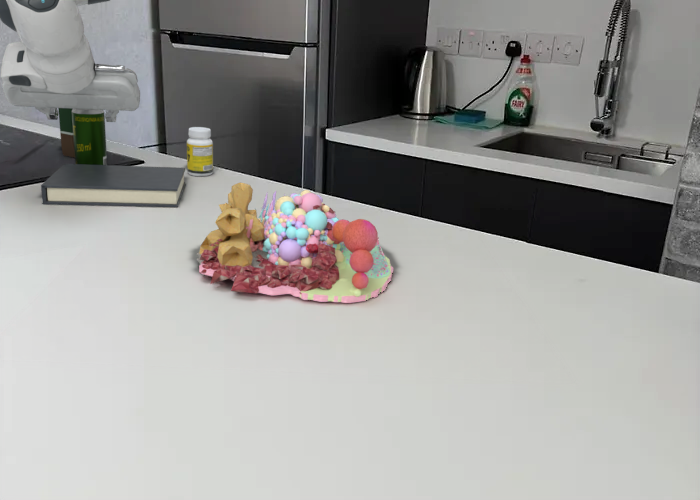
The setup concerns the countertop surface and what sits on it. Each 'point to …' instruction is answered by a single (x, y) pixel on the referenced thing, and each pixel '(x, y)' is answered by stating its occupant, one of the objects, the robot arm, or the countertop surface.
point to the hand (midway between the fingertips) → (82, 117)
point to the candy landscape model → (294, 250)
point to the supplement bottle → (199, 152)
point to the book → (114, 186)
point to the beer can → (89, 136)
